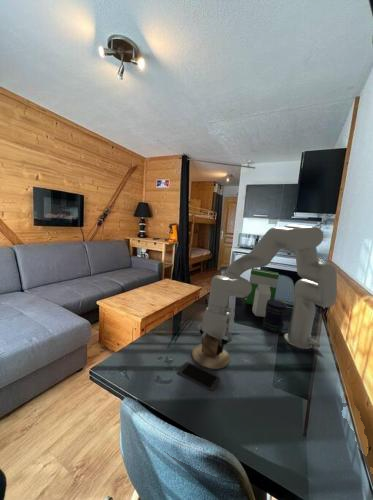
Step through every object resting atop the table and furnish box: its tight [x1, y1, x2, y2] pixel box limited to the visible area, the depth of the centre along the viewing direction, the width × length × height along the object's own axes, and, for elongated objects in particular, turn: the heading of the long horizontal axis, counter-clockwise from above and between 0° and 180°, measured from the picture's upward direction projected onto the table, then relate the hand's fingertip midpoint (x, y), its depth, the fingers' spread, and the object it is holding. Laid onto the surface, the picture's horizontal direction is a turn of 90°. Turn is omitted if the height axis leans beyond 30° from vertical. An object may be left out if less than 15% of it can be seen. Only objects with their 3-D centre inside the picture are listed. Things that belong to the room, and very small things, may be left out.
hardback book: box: [245, 268, 280, 306], centre depth 152 cm, size 18×7×24 cm, turn 70°
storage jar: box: [262, 299, 288, 335], centre depth 116 cm, size 10×10×15 cm
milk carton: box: [251, 284, 271, 318], centre depth 134 cm, size 7×7×19 cm
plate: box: [191, 343, 231, 370], centre depth 87 cm, size 15×15×1 cm
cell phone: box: [176, 361, 221, 392], centre depth 76 cm, size 7×14×1 cm, turn 60°
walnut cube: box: [201, 334, 219, 358], centre depth 87 cm, size 6×6×6 cm
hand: (211, 349), depth 87 cm, fingers closed on walnut cube, 6 cm apart
